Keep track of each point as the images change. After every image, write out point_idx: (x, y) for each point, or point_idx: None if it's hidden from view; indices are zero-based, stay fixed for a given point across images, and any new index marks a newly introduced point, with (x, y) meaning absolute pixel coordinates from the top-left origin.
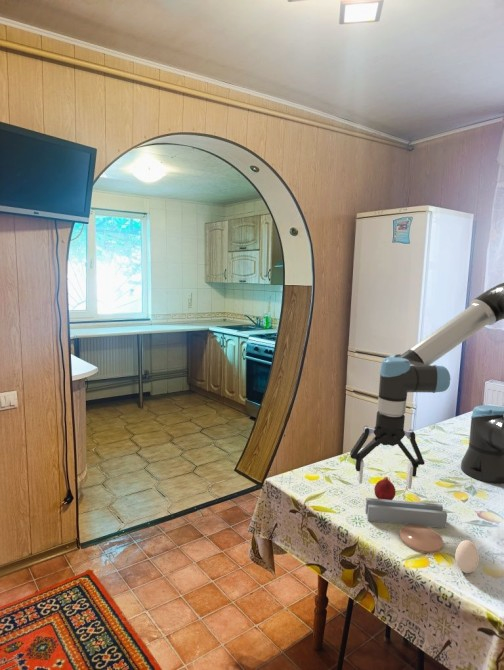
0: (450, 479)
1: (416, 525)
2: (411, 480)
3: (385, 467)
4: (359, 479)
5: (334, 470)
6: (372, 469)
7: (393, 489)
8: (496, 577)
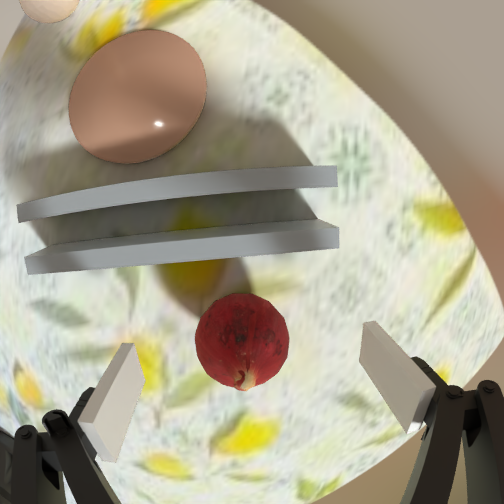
0: None
1: (132, 155)
2: (110, 367)
3: (219, 487)
4: (383, 332)
5: (366, 441)
6: (256, 476)
7: (205, 333)
8: (17, 29)
